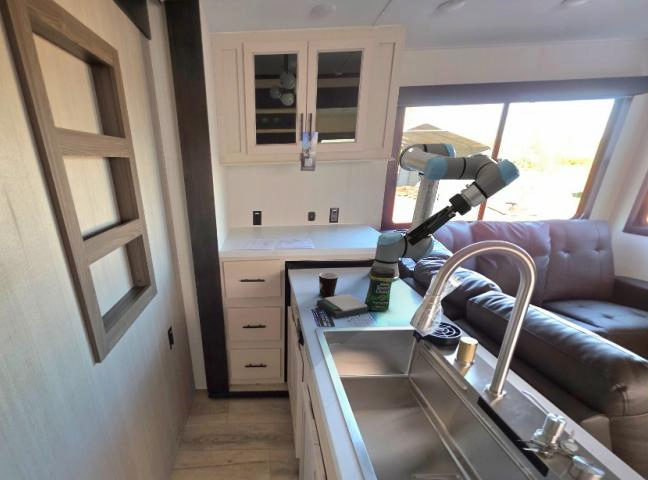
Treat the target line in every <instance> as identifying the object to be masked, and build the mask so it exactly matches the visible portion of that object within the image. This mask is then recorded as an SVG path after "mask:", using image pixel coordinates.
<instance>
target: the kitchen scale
mask: <svg viewBox="0 0 648 480" xmlns="http://www.w3.org/2000/svg"><path fill="white" fill-rule="evenodd" d="M316 307H318V308H319V309H321V310H322V311H324V312H325V313H327V314H328V315H329V316H331V317H332V318H333V319H334V320H338V319H342V318H347V317H348V318H349V317H353V316H357V315H363V314H367V313H369V311H370V310H369V307H368V306H367V305H366V304H365V302H362V301H361V300H359V299H357V298H356V297H354V296H352V295H351V294H348V293H345V294H340V295H334V296H333V297H328V298H323V299H318V300H316Z"/></svg>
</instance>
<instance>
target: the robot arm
mask: <svg viewBox="0 0 648 480" xmlns="http://www.w3.org/2000/svg"><path fill="white" fill-rule="evenodd" d="M456 155H457V154H456V149H455V147H454V145H452V144H451V143H443V142H441V143H414V144H411V145H409V146H406V147H405V148H404V149H403V150H402V151H401V152H400V154H399V156H398V165H399V166H400V168H401V169H402V170H405V171H407V172H418V177H419V179H420V181H419V186H418V191H417V196H416V200H415V205H414V209H413V214H412V220H411V224H410V227H409V229H408V230H406V233H405V235H404V234H403V233H402V232H399V231H389V232H384V233H381V234H379V236H378V238H377V242H376V248H375V256H374V261H373V263H372V265H371V267H372V266H387V267H393V268H394V269H395V278H394V280H393V281H396V280H399V278H400V272H399V266H398V265H399V259H417V260H418V259H426V258H428V257H429V256H430V255H431V254H432V253H433V250H434V246H435V238H434V236H433V234H435V233H436V232H437V231H438V230H440V229H441V228H442V227H443V226H445V224H447V223H448V222H450V221H451V220H452V219H454V218H455V217H456V216H457V213H458V214H459V216H461V217H462V216H464V215H466V214H468V213H469V212H470V211H472V209H473V208H474V209H475V208H477V207H478V206H479V205H481V204H482V203H484V202H486V201H487V200H488V199H489V198H491V197H493V196H494V195H496V194H497V193H499V192H500V191H501V190H503V189H505V188H506V187H507V186H509V185H510V184H512V183H513V182H514V181H516V180H517V179H518V178H519V177H520V176H521V171H520V169H519V168H518V166H517V165H516V164H515V163H514V162H513V161H512V160H510V159H509V158H504V159H502V160H501V161H499V162H497V161H495V160H494V159H493V158H491V157H490V156H489V155H487V154H485V153H483V152H482V153H481V152H476V153H474V154H472V155H470V156H456ZM448 180H449V181H452V180H453V181H472V182H471V183H470V184H468V183H467V184H465V187H464V188H462V189H461V190H460V193H458V192H457V193H456V194H454V195H453V196H451V197H450V198H449V199H448V202H449V203H450V204H451V205H446V206H445V207H443V208H442V209H440V210H439V211H437V212H436V213H434V211H435V207H436V203H437V198H438V194H439V190H440V186H441V183H442V181H448ZM370 271H371V268H370V269H369V271H368V275H369V274H370Z"/></svg>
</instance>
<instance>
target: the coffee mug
mask: <svg viewBox="0 0 648 480" xmlns="http://www.w3.org/2000/svg"><path fill="white" fill-rule="evenodd" d="M338 279H339V274H337V273H335V272H330V271H324V272H320V273H319V274H318V284H319V297H320V298H323V299H325V298H328V297H333V296H335V293H336V288H337V284H338Z"/></svg>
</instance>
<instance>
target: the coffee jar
mask: <svg viewBox="0 0 648 480" xmlns="http://www.w3.org/2000/svg"><path fill="white" fill-rule="evenodd" d="M370 269H371V271H370V270H369V271H370V274H369V273H368V276H369V285H368V289H367V293H366V296H365V300H364V304H366V305H367V306H368V307H369V310H368V311H372V312H387V311H388V310H389V309H390V299H391V298H390V297H391V289H392V284H393V282H394V281H395V280H394V278H395V269H394V268H393V267H387V266H372V265H371V268H370Z"/></svg>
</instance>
